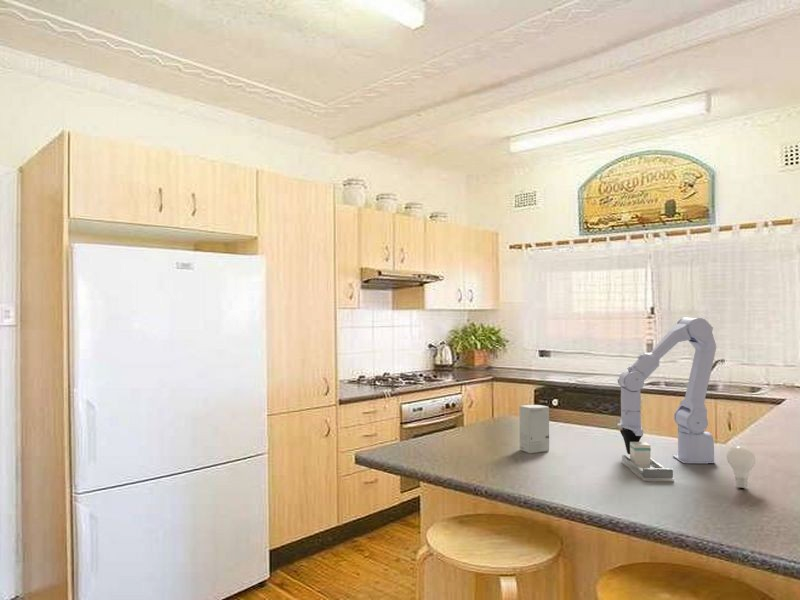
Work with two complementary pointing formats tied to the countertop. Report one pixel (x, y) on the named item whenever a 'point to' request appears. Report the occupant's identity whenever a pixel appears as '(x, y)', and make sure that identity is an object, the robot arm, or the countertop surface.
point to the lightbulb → (741, 464)
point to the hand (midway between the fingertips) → (631, 453)
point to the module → (640, 453)
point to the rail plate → (649, 470)
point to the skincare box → (534, 428)
